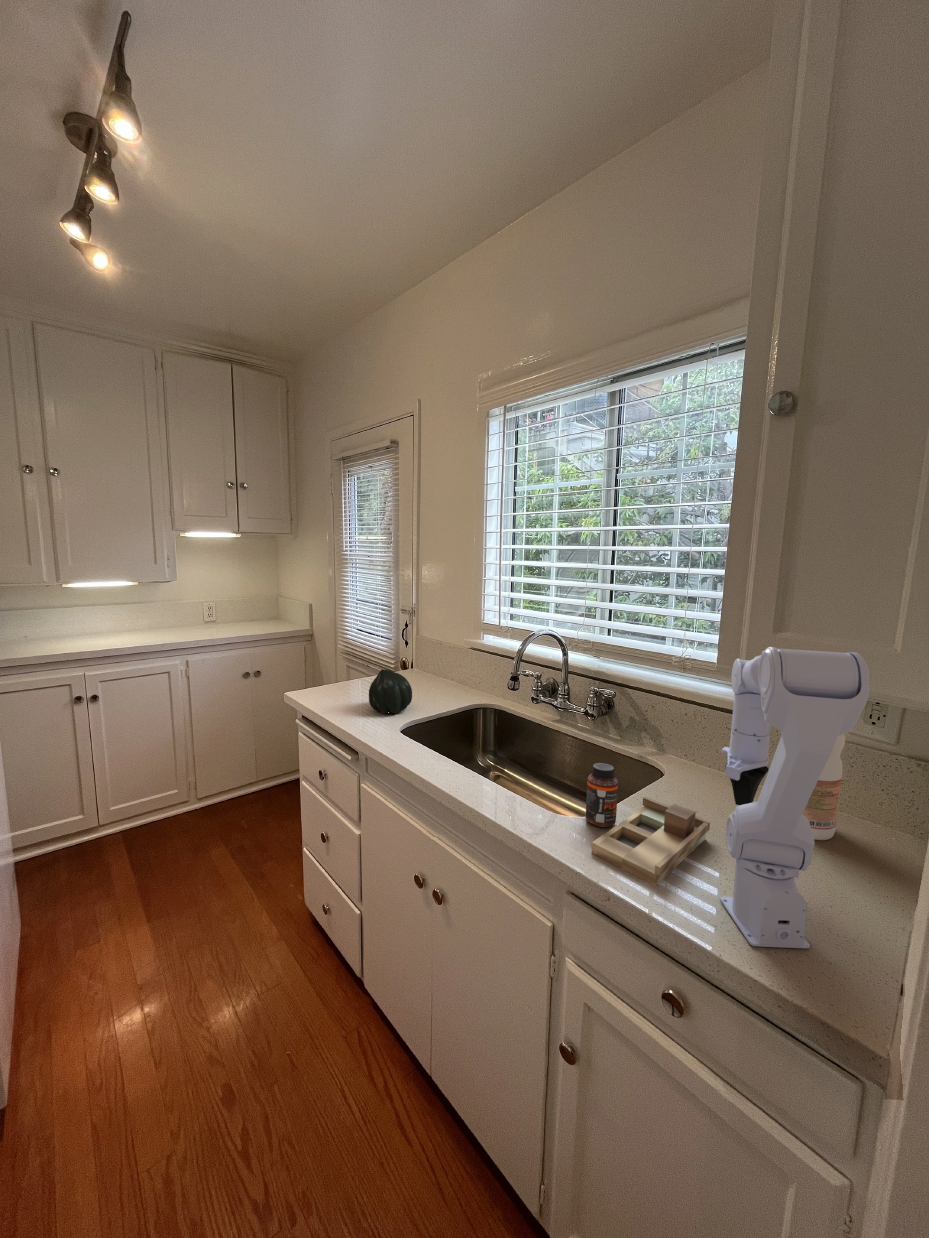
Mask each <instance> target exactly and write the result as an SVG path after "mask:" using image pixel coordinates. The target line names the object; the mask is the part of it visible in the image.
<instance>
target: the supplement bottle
mask: <svg viewBox="0 0 929 1238" xmlns="http://www.w3.org/2000/svg"><path fill="white" fill-rule="evenodd" d="M614 773H615V768H614V766H613V765H611V764H608V763H603V762H598V763H594V764H593V765H592V773H590V774H589V775H588V777H587V781H586V783H587V784H586V801H585V802H586V803H585V804H586V805H585V819H586V821H587V822H589V824H592V825H594V826H596V827H599V828H609V827H612V826H615V824H616V821H617V809H618V808H617V807H618V794H619V793H618V790H619V781H618V779H617V777H615V774H614Z"/></svg>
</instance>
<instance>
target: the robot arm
mask: <svg viewBox="0 0 929 1238" xmlns="http://www.w3.org/2000/svg"><path fill="white" fill-rule="evenodd" d="M730 678H731V679H730V680H731V687H732V688H731V689H732V691H733V693H734V696H733V706H732V716H731V726H730V727H731V729H730V741H729V747H728V746H724V747H723V748H721V754H723V755H726V756H727V763H726V764H725V766H724V767H725V771H724V772H725V773H724V777H725V778H728V779H730V783H731V787H732V792H733V798H734V803H735V805H737V806H735V809H734V810H733V812H732V813H731V814H729V815H728V817H727V820H726V826H725V838H726V841H725V842H726V848H727V851H728V853H729V854H730V856H731V857H732V858H733V859H735V868H734V869H735V870H734V880H733V889H732V896H724V895H723V896H720V897H719V901H720V902H721V903H722V906H723V907H724V908H725V910H726V911H727V912H728V914H729V915H730V916H731V919H732V920H733V921H734V922H735V924H736V926H737V927H738V928H739V930H740V931H741V933H742V934H743V936H744V938H745V939H746V940H747V942H748V943H749V944H750V945H751V946H752V947H762V948H763V947H764V948H767V947H768V948H769V947H770V948H783V949H785V948H789V949H810V947H811V946H810V943H809V942H808V941H807V939H806V938H805V931H806V924H807V923H806V921H807V916H808V915H807V914H808V906H807V901H806V899H805V898H804V897H803V895H802V894H801V892H800V891H799V888H798V887H797V884H796V880H795V878H799V876H800V871H801V872H804V871H806V870H808V868H810V866H811V864H812V861H813V851H814V847H815V840H814V836H813V832H812V828H811V826H810V823H809V821H808V819H807V817H806V816H804V815H803V814H802V813H803V811H804V809H805V807H806V805H807V803H808V800H809V798H810V796H811V794H812V792H813V790H814V788H815V786H816V783H817V781H818V779H819V777H820V775H821V773H822V771H823V769H824V767H825V764H826V762H827V760H828V758H829V756H830V754H831V752H832V749H833V747H834V744H835V742H836V740H837V737H838V736H840V735H842V734H844V735H845V734H846V733H849V732H851V731H853V729H854V727H855V726H856V724H857V722H858V720H859V719H860V717H861V714H862V712H863V710H864V708H865V707H866V704H867V702H868V700H869V698H870V671H869V667H868V664H867V662H866V660H865V659H864V658H863V657H862V655H861V654H860V653H858V652H856V651H848V652H839V651H837V652H836V651H835V652H834V651H820V650H805V649H803V650H802V649H792V648H791V649H789V648H777V647H775V646H768V647H767V648H765V650H763V651H762V652H761V654H760V655H756V656H754V658H751V660H747V659H741V658H736V659H735V660H734V662H733V665H732V668H731V677H730ZM772 727H773V728H775V729H777V730H778V731H779V732H780V735H781V736H780V738H779V740H778V741H779V742H778V744H777V747H776V750H775V753H774V755H773V758H772V761H771V763H770V766H769V767H768V765H769V762H770V758H769V757H770V756H769V750H770V749H769V748H770V741H771V740H770V738H771V729H772ZM765 776H766V777H765ZM764 777H765V779H764ZM763 779H764V783H763V785H762V788H761V791H760V793H759V797H758V798H757V801H754V800H755V797H756V794H757V791H758V789H759V786H760V784H761V782H762V781H763ZM753 801H754V802H753Z"/></svg>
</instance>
